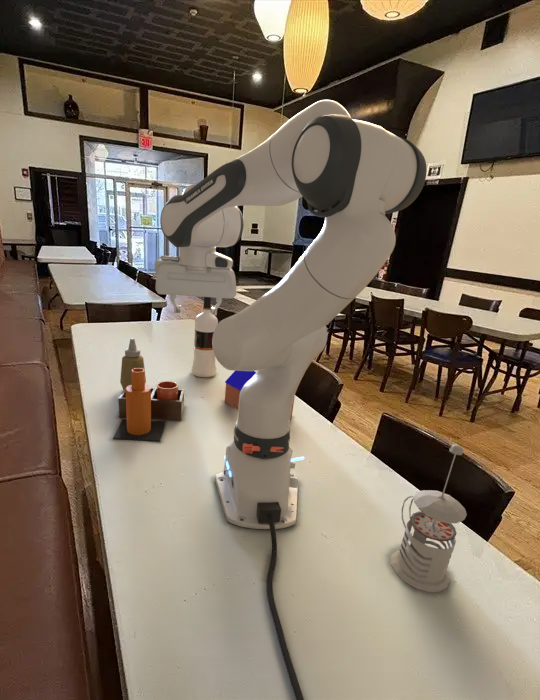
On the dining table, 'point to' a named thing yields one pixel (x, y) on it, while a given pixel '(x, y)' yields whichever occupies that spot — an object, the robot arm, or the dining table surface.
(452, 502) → the french press
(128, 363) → the squeeze bottle
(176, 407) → the wooden condiment rack
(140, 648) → the dining table surface
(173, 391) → the rack cup
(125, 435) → the mat
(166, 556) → the dining table surface
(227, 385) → the house
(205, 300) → the vodka
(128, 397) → the bottle
